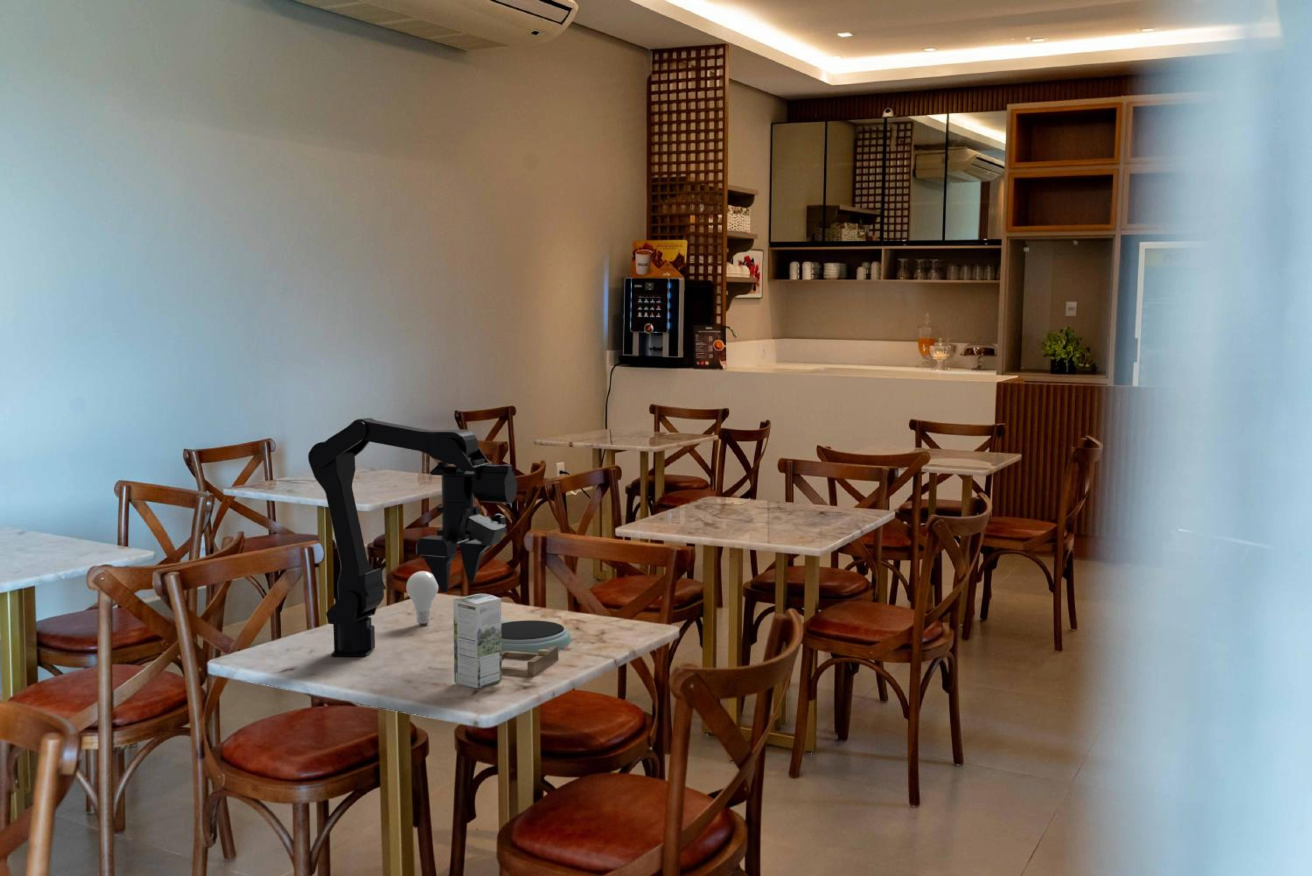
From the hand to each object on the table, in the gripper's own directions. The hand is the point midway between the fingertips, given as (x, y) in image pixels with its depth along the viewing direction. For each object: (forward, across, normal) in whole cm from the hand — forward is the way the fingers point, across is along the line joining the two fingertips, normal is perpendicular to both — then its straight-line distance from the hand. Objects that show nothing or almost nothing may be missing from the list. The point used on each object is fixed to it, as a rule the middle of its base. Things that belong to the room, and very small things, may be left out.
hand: (458, 587), depth 203 cm
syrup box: (+13, -12, -11) cm, 21 cm away
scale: (+14, +15, -3) cm, 21 cm away
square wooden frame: (+13, 0, -12) cm, 18 cm away
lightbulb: (+14, +20, +20) cm, 32 cm away
